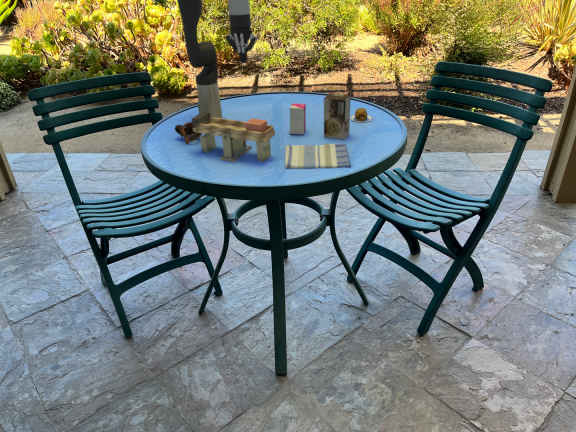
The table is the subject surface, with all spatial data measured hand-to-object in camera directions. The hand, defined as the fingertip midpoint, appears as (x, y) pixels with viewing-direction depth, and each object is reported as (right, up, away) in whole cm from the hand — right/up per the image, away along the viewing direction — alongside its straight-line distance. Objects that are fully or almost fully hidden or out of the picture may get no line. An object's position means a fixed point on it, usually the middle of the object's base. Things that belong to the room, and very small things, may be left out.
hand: (243, 62), depth 158 cm
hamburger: (+49, -16, +26) cm, 58 cm away
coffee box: (+36, -26, +11) cm, 46 cm away
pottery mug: (-23, -27, +14) cm, 38 cm away
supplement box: (+21, -24, +16) cm, 35 cm away
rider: (+6, -28, -9) cm, 30 cm away
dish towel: (+27, -37, -5) cm, 46 cm away
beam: (-3, -27, -5) cm, 28 cm away
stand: (-3, -34, 0) cm, 35 cm away
